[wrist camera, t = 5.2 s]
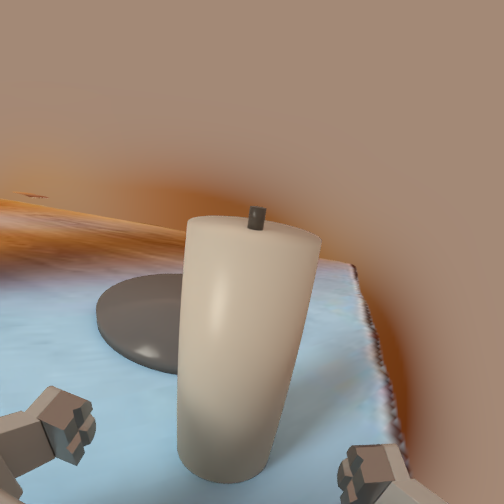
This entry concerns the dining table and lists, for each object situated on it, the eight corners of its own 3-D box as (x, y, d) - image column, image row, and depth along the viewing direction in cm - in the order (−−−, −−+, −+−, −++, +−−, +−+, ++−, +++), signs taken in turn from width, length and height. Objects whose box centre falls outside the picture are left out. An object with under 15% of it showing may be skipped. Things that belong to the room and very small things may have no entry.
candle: (158, 442, 14) (162, 196, 11) (222, 407, 18) (250, 198, 15) (225, 499, 11) (272, 224, 8) (286, 449, 15) (347, 220, 12)
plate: (69, 300, 28) (69, 289, 28) (200, 274, 42) (201, 265, 41) (176, 410, 17) (176, 396, 17) (320, 329, 31) (323, 318, 31)
